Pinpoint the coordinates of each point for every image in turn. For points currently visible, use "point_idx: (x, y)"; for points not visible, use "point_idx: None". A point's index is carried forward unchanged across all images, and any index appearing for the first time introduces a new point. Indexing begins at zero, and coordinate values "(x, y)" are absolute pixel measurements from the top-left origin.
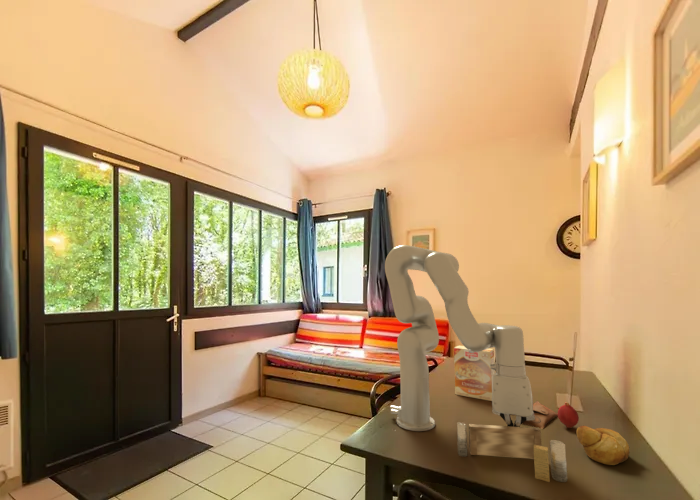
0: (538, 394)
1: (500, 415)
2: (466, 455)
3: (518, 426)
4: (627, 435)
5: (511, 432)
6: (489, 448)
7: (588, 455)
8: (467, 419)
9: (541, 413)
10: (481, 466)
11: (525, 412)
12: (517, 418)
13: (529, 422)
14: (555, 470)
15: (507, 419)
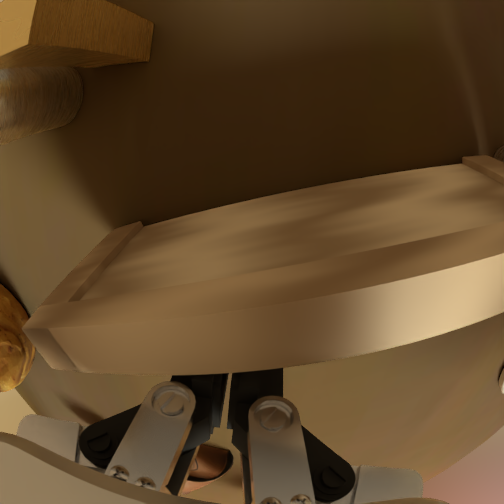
0: (196, 497)
1: (348, 470)
2: (497, 152)
3: (177, 386)
4: (33, 401)
5: (250, 282)
6: (417, 184)
7: (19, 309)
8: (387, 433)
9: None
10: (439, 54)
11: (7, 485)
12: (158, 453)
13: (198, 450)
14: (41, 67)
15: (278, 443)
